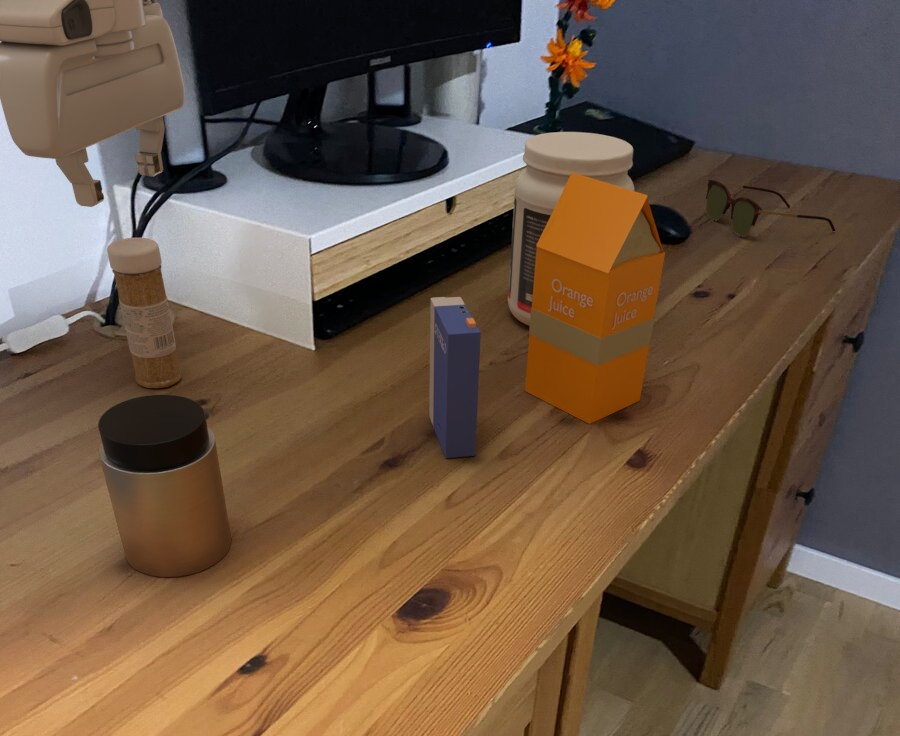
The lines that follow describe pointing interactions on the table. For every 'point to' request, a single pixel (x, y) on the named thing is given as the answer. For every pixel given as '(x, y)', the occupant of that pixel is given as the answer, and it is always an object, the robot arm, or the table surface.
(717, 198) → the sunglasses
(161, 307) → the sprinkles bottle
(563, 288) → the orange juice
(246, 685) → the table surface
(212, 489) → the flask
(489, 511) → the table surface
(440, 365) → the walkman
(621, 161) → the supplement tub
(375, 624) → the table surface
